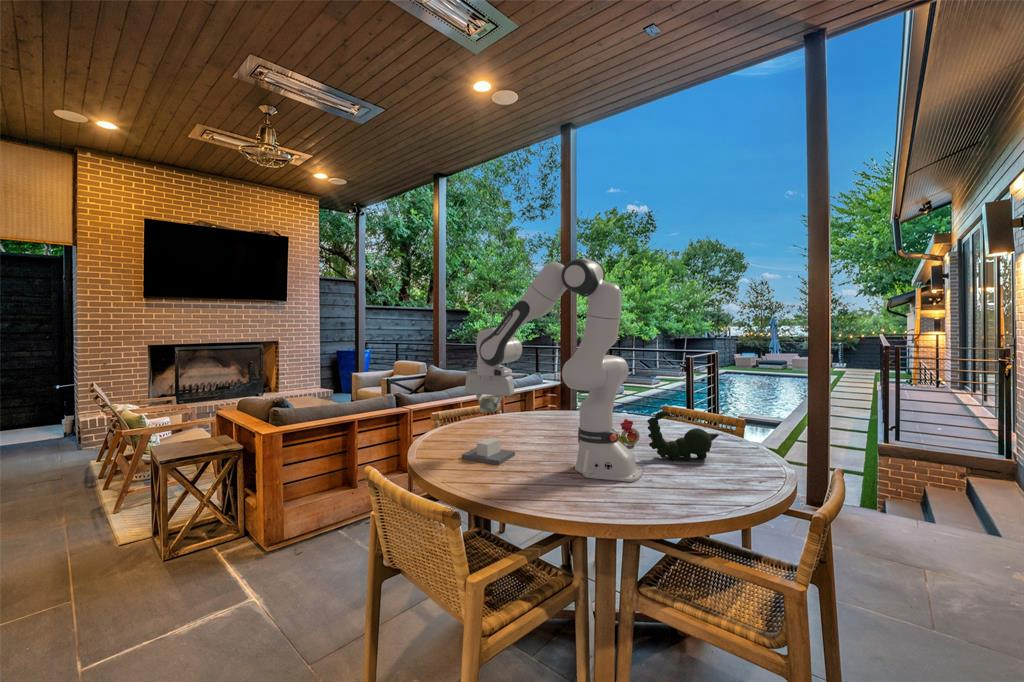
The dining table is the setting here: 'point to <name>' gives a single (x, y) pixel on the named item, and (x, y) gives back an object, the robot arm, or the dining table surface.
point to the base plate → (492, 459)
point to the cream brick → (488, 447)
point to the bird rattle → (631, 436)
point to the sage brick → (488, 404)
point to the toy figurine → (679, 441)
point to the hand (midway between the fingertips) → (489, 406)
